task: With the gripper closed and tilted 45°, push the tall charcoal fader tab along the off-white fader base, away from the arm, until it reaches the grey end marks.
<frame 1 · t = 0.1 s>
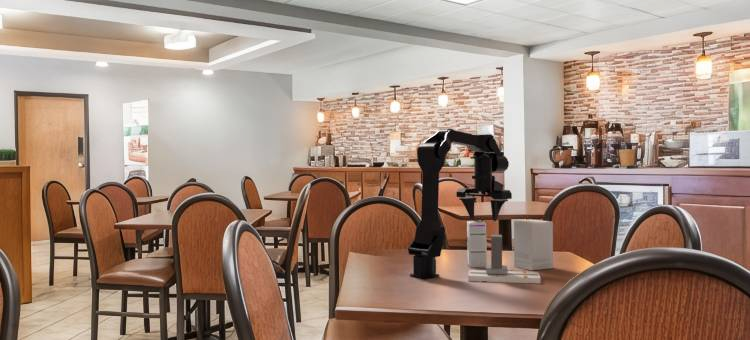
hand: (483, 220, 195), 15 cm above the table, tool pointing down, fingers open, 9 cm apart
fader base: (500, 278, 172), on the table
fader: (496, 253, 172), point 7 cm above the table, slide at 0.0 cm
supplement box: (533, 268, 190), on the table
syrup box: (476, 266, 193), on the table
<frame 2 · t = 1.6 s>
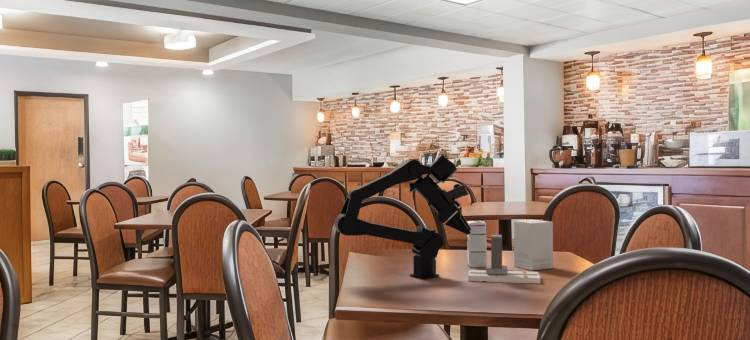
hand: (469, 232, 174), 13 cm above the table, tool tilted 45°, fingers open, 8 cm apart
nothing on the table moved.
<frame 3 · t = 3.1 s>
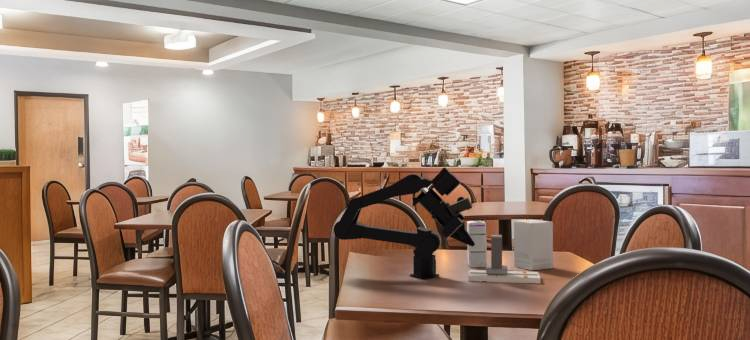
hand: (473, 245, 173), 10 cm above the table, tool tilted 45°, fingers closed
nothing on the table moved.
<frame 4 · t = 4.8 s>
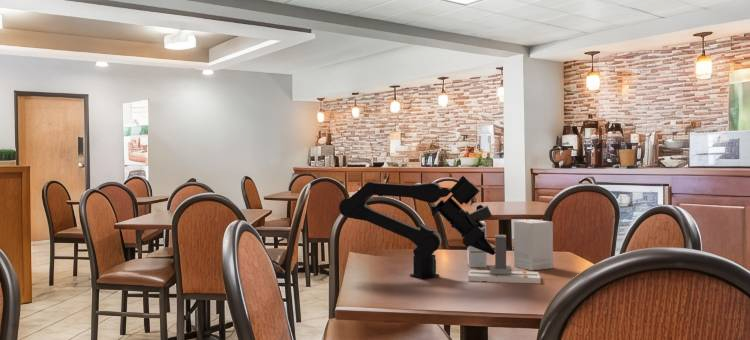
hand: (494, 253, 172), 7 cm above the table, tool tilted 45°, fingers closed, pressing on fader
fader: (500, 253, 172), point 7 cm above the table, slide at 1.2 cm, touching gripper
everything else where it was.
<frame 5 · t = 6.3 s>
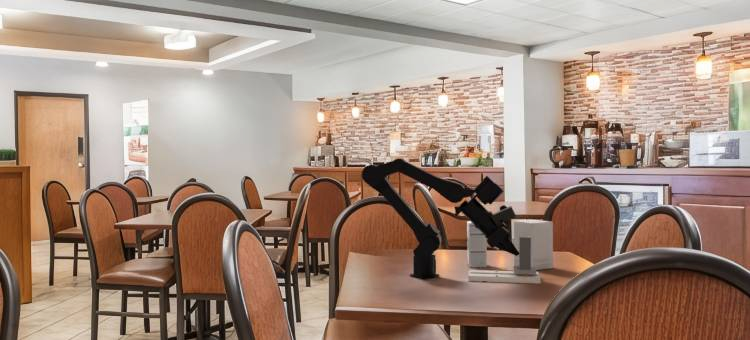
hand: (518, 254, 171), 7 cm above the table, tool tilted 45°, fingers closed, pressing on fader
fader: (524, 254, 170), point 7 cm above the table, slide at 7.9 cm, touching gripper
everything else where it was.
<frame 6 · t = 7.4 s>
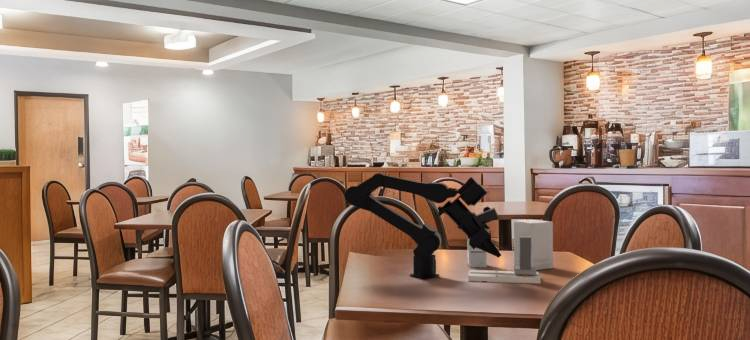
hand: (499, 256, 172), 7 cm above the table, tool tilted 45°, fingers closed
fader: (524, 254, 170), point 7 cm above the table, slide at 8.0 cm
everything else where it was.
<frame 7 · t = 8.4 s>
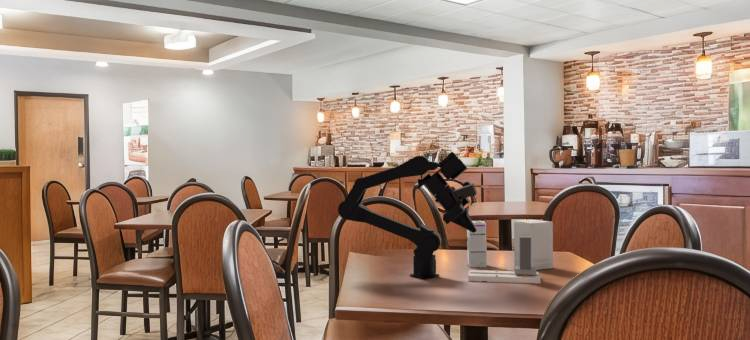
hand: (475, 231, 173), 14 cm above the table, tool tilted 40°, fingers closed
nothing on the table moved.
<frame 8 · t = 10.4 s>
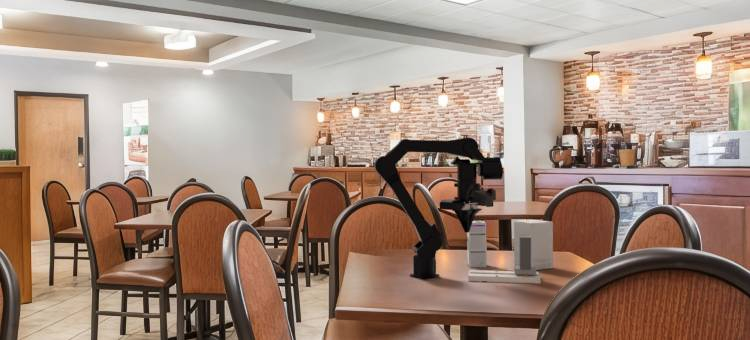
hand: (467, 232, 177), 13 cm above the table, tool pointing down, fingers closed
nothing on the table moved.
at the end: fader slide at 8.0 cm; supplement box moved 0.3 cm from its start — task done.
